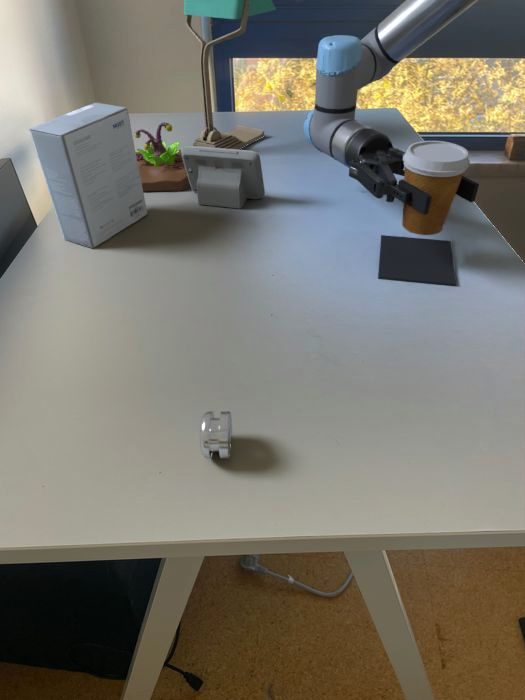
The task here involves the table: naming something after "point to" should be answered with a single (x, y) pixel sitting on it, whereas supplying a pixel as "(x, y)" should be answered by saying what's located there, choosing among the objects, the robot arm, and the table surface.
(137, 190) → the hard drive box
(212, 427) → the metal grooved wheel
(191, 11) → the banker's lamp
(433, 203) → the disposable coffee cup
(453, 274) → the mat
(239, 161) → the digital clock
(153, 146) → the plant
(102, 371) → the table surface
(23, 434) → the table surface
